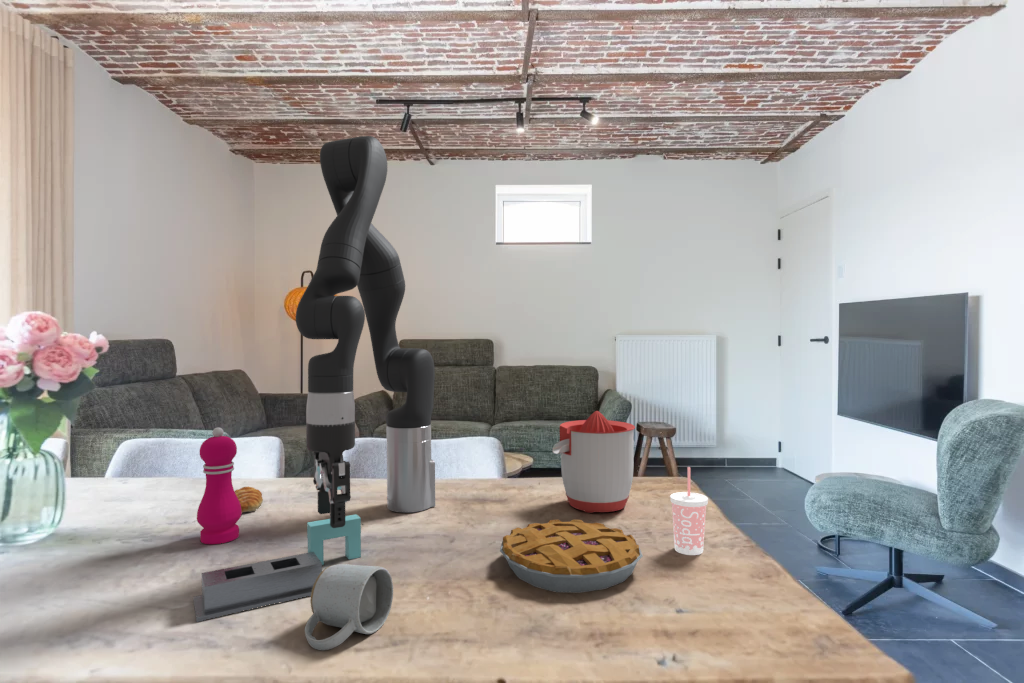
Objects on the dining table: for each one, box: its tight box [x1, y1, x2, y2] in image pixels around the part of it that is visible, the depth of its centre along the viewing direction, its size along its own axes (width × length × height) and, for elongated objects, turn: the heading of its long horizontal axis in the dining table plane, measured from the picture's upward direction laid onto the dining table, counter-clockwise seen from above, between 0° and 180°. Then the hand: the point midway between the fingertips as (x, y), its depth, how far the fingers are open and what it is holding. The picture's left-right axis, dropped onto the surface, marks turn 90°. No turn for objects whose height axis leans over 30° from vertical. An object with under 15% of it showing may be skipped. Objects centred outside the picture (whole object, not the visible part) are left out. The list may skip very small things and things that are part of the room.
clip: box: [306, 513, 362, 566], centre depth 97 cm, size 8×2×6 cm, turn 121°
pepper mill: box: [196, 426, 243, 545], centre depth 107 cm, size 7×7×20 cm
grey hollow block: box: [192, 552, 323, 623], centre depth 84 cm, size 17×7×4 cm, turn 121°
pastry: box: [234, 486, 264, 514], centre depth 126 cm, size 9×7×4 cm
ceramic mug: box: [304, 563, 394, 651], centre depth 75 cm, size 11×8×8 cm
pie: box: [499, 519, 643, 594], centre depth 94 cm, size 22×22×5 cm
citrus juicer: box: [552, 410, 636, 514], centre depth 126 cm, size 16×17×20 cm
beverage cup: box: [669, 466, 709, 556], centre depth 101 cm, size 6×6×14 cm
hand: (330, 519), depth 97 cm, fingers open, 8 cm apart
